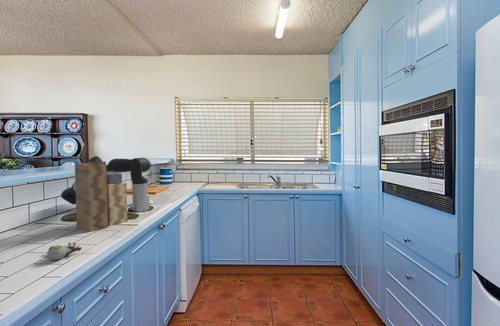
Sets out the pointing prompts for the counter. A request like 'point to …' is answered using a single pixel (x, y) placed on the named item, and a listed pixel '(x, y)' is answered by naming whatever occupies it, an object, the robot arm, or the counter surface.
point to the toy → (61, 251)
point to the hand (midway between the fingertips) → (97, 171)
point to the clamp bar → (113, 177)
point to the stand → (91, 196)
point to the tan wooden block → (116, 203)
